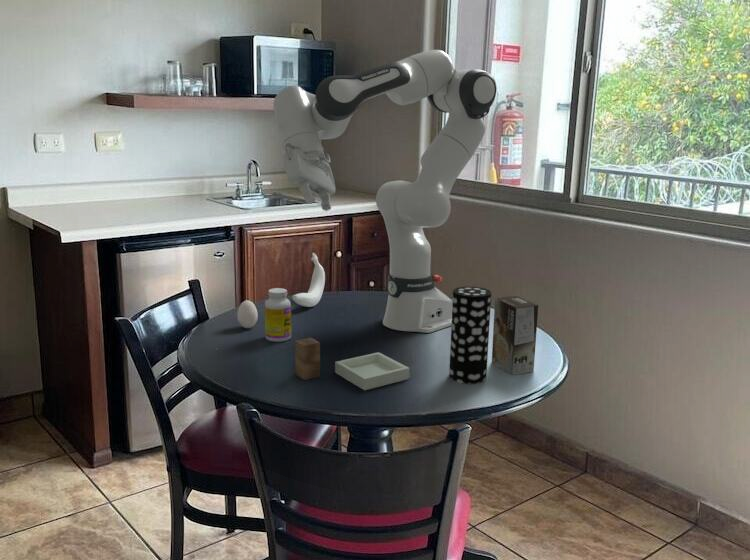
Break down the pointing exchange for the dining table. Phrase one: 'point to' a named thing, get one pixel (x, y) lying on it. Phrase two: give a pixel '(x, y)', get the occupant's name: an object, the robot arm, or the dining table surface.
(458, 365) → the spotted tube
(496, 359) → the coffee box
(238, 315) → the egg
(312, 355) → the block
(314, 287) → the banana
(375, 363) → the dish
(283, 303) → the supplement bottle
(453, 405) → the dining table surface
